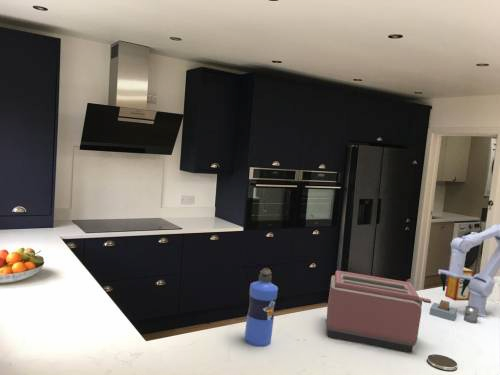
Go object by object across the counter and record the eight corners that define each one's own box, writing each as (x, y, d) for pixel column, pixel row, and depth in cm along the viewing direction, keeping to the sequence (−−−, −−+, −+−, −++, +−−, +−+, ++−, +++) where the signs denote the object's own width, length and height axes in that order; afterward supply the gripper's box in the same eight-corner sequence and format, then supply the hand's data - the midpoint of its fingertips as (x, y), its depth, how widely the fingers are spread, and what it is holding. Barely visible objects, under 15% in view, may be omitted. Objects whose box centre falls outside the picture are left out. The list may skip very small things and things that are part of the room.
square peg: (439, 312, 198) (441, 299, 197) (447, 314, 196) (449, 302, 196) (438, 314, 195) (440, 301, 194) (446, 316, 193) (448, 304, 192)
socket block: (433, 308, 202) (433, 302, 202) (456, 315, 197) (457, 308, 197) (429, 314, 194) (430, 307, 193) (453, 321, 188) (454, 314, 188)
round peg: (464, 317, 195) (466, 304, 194) (477, 321, 192) (479, 308, 192) (463, 320, 190) (465, 307, 190) (476, 324, 188) (478, 311, 187)
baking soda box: (459, 295, 229) (464, 266, 227) (469, 300, 222) (474, 270, 221) (445, 295, 226) (449, 266, 224) (454, 300, 219) (459, 269, 218)
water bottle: (276, 340, 148) (285, 270, 146) (261, 349, 140) (270, 275, 138) (253, 331, 153) (262, 263, 151) (238, 339, 145) (247, 267, 143)
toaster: (428, 358, 149) (438, 300, 147) (324, 337, 156) (331, 282, 154) (418, 335, 168) (426, 284, 166) (325, 318, 175) (332, 268, 173)
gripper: (439, 261, 198) (434, 290, 199) (474, 269, 190) (469, 299, 191) (441, 259, 204) (436, 287, 205) (475, 266, 196) (470, 295, 197)
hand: (452, 292), depth 199 cm, fingers open, 7 cm apart
